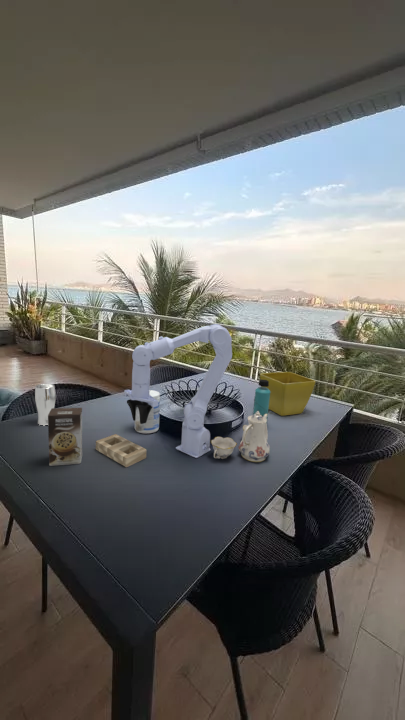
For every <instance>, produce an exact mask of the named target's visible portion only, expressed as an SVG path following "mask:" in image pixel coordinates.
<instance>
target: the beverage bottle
mask: <svg viewBox="0 0 405 720" xmlns="http://www.w3.org/2000/svg"><path fill="white" fill-rule="evenodd" d="M258 386H259V387H257V388H255V390H254V391H255V392H254V393H255V394H254V399H253V409H252V410H253V412H252V416H253V415H254V414H256V412H257V411H259V413H260V415H262V417H263V416H264V414H268V415H267V421H266V423H267V424H268V421H269V420H268V419H269V410H270V409H269V400H270V393H271V392H270V390H269V389H268V388H266V387H268V386H269V381H267V380H260V379H259V380H258ZM261 386H263V387H261Z"/></svg>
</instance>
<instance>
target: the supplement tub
mask: <svg viewBox="0 0 405 720" xmlns="http://www.w3.org/2000/svg"><path fill="white" fill-rule="evenodd" d="M149 395H151V396H152V397H153V398H155V399H156V400H158V406H156V407H152V409H151V411H150V413H149V415H148V418H147V422H146V423H144V430H142V431H137V430H135V431H136V432H137V433H140V434H145V435H146V434H147V435H148V434H152V433H156V432H157V431H158V430H159V428H160V409H161V407H160V406H161V405H160V403H161V393H160V392H159V391H158V390H157V391H156V390H154V389H150V392H149ZM133 426H134V429H135V421H134V425H133Z"/></svg>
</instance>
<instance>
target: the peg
mask: <svg viewBox="0 0 405 720" xmlns="http://www.w3.org/2000/svg"><path fill="white" fill-rule="evenodd" d="M134 422H135V428H134V429H135V431H136V430H137V431H142V430H144V424H140V414H139V409H138V406H137V405H136V415H135V421H134ZM137 431H136V432H137Z"/></svg>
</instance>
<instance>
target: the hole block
mask: <svg viewBox="0 0 405 720" xmlns="http://www.w3.org/2000/svg"><path fill="white" fill-rule="evenodd" d="M95 450H96V451H97V452H99V453H100V454H103V455H104V456H106V457H107V458H110V459H111V460H113V461H114V462H117V463H118V464H119V465H121V466H123V467H125V468H128V467H130V466H133V465H135V464H136V463H139V462H140V461H142V460H145V459H147V449H146V448H144V447H142V446H141V445H139V444H137V443H134V442H132V441H130V440H128V439H127V438H124V437H122V436H121V435H119V434H117V433H116V434H112V435H109V436H107V437H103V438H101V439H98V440H95Z"/></svg>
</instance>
